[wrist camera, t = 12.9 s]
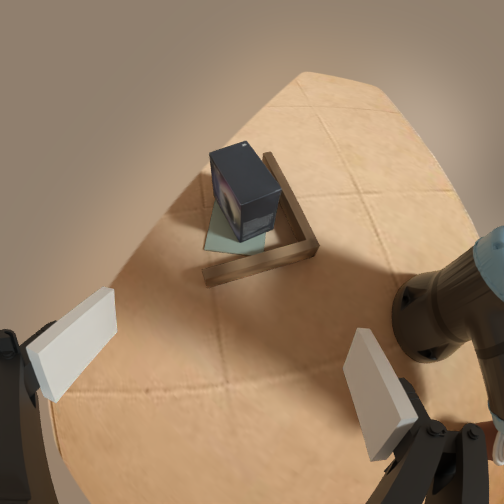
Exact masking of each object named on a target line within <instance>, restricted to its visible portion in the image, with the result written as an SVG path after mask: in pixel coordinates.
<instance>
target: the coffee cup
mask: <svg viewBox="0 0 504 504" xmlns="http://www.w3.org/2000/svg"><path fill="white" fill-rule="evenodd" d="M474 424H476V425H478V426H479V427H481V429H482V430H483V431H484V434H485V440H486V448H487V458H488V460H491V461H493V462H494V463H495V464H496V465H498V466H500V465H504V434H502V433H500V432H499V431H498V430H497V429H496V427H495V425H494V423H493V421H488V422H481V423H474Z"/></svg>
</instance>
